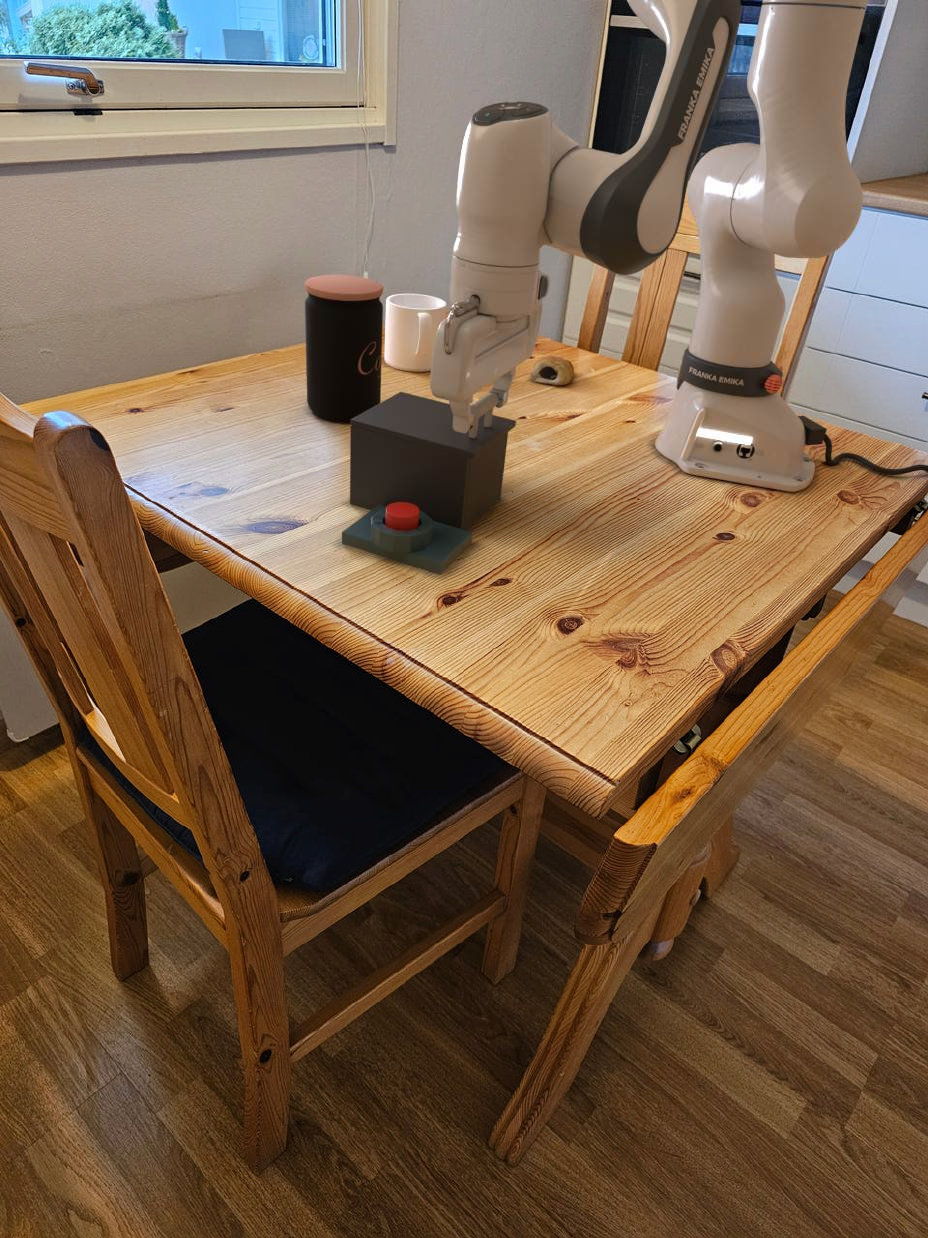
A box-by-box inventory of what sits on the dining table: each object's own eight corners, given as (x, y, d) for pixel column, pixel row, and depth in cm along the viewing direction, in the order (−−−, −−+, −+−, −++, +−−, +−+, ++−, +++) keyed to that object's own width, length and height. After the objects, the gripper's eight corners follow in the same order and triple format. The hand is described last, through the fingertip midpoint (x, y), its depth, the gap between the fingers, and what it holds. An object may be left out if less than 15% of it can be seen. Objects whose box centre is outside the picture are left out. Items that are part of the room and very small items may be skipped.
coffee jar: (368, 429, 121) (370, 297, 111) (296, 418, 122) (292, 287, 112) (388, 404, 129) (392, 280, 119) (321, 394, 131) (319, 270, 121)
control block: (471, 544, 95) (474, 516, 93) (436, 578, 89) (438, 549, 87) (378, 515, 99) (379, 488, 97) (337, 546, 92) (337, 518, 90)
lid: (515, 426, 99) (520, 388, 97) (474, 459, 91) (478, 418, 88) (400, 396, 104) (401, 360, 102) (350, 425, 95) (350, 386, 93)
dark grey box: (500, 500, 105) (509, 424, 100) (460, 537, 96) (467, 457, 91) (397, 470, 110) (400, 397, 104) (349, 504, 101) (350, 425, 95)
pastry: (544, 366, 151) (547, 345, 149) (580, 374, 150) (584, 353, 147) (527, 381, 144) (530, 358, 142) (565, 389, 142) (569, 367, 140)
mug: (379, 353, 150) (380, 293, 144) (434, 353, 153) (437, 294, 147) (394, 377, 140) (396, 313, 134) (452, 376, 143) (457, 314, 137)
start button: (424, 522, 92) (425, 507, 91) (408, 535, 89) (409, 520, 88) (395, 513, 93) (396, 498, 92) (378, 526, 90) (379, 511, 89)
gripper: (479, 313, 78) (466, 454, 85) (556, 276, 93) (539, 398, 101) (418, 301, 80) (411, 440, 87) (503, 266, 95) (491, 386, 103)
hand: (480, 417), depth 94 cm, fingers open, 8 cm apart
